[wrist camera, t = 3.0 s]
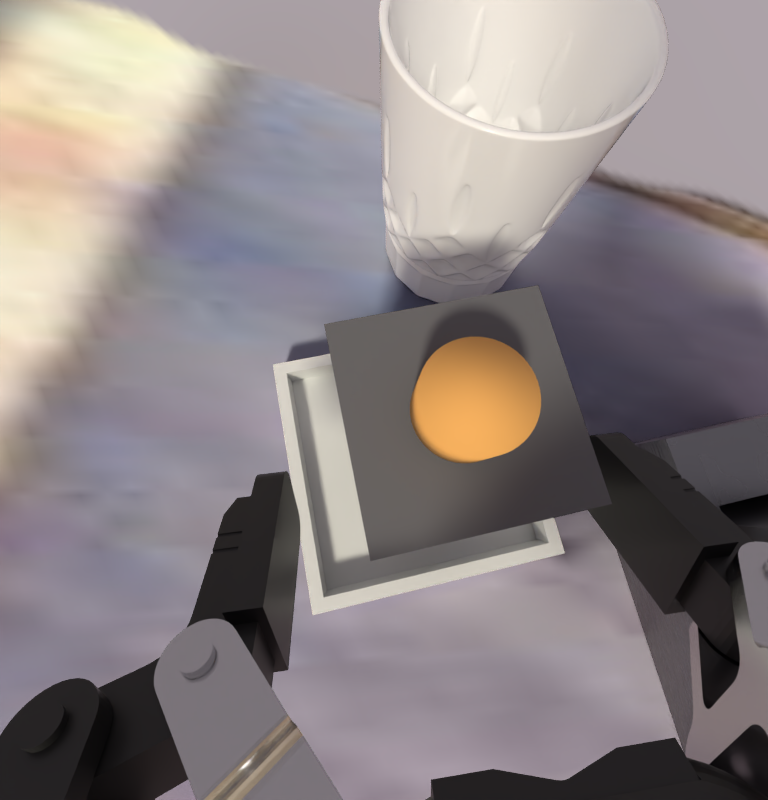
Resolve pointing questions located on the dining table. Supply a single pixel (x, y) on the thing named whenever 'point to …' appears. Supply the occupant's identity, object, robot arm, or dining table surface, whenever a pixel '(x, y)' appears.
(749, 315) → the dining table surface
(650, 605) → the strip
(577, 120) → the white cup
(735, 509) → the twin plug
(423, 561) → the tray
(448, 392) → the plug
